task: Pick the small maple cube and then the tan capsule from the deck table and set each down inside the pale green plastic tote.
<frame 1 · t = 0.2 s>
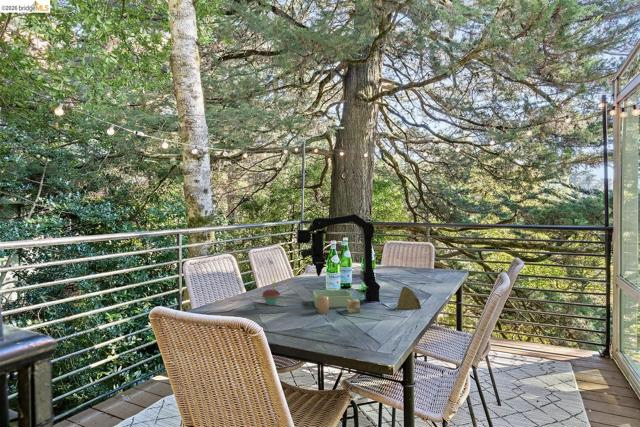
hand: (318, 274, 202), 14 cm above the table, tool pointing down, fingers open, 9 cm apart
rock: (409, 308, 191), on the table
tote: (332, 303, 200), on the table
maple cube: (353, 311, 187), on the table
tan capsule: (323, 312, 186), on the table
cupcake: (271, 304, 201), on the table
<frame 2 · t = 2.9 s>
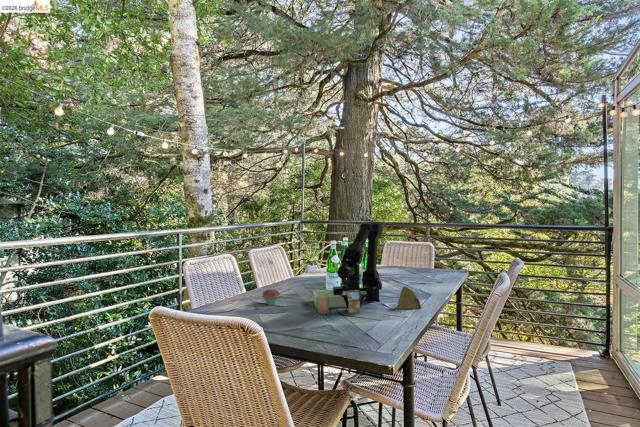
hand: (353, 308, 187), 1 cm above the table, tool pointing down, fingers closed on maple cube, 5 cm apart
maple cube: (353, 310, 187), on the table, touching gripper
everything else where it was.
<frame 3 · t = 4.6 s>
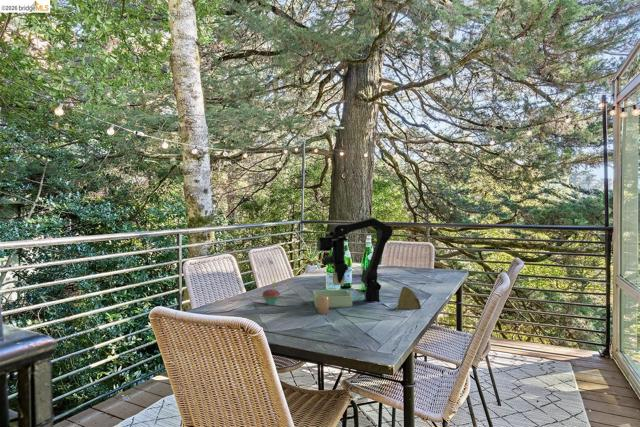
hand: (338, 281, 200), 11 cm above the table, tool pointing down, fingers closed on maple cube, 5 cm apart
maple cube: (338, 283, 200), point 10 cm above the table, touching gripper
everything else where it was.
when the fingers open (3 cm above the table, at t = 6.4 s): maple cube drops 2 cm, resting on tote.
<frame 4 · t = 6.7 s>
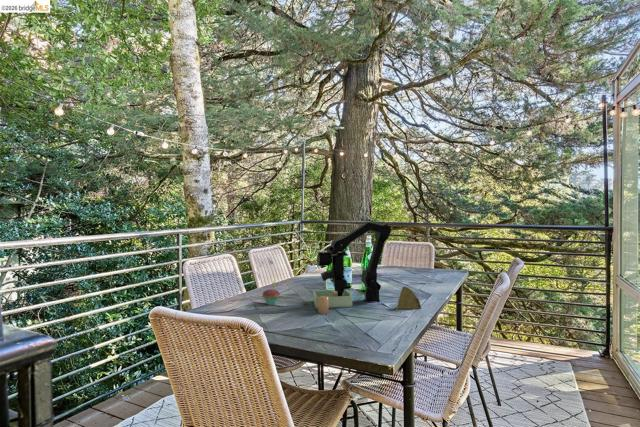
hand: (338, 296, 201), 3 cm above the table, tool pointing down, fingers open, 8 cm apart
maple cube: (338, 302, 201), resting on tote
everything else where it was.
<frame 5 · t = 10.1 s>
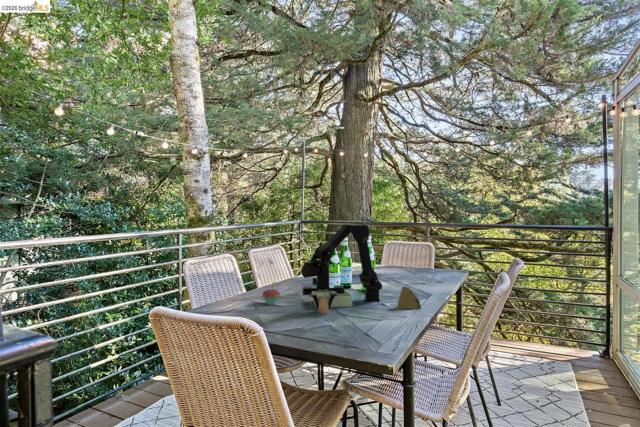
hand: (323, 308, 186), 2 cm above the table, tool pointing down, fingers closed on tan capsule, 5 cm apart
tan capsule: (323, 312, 186), on the table, touching gripper
everything else where it was.
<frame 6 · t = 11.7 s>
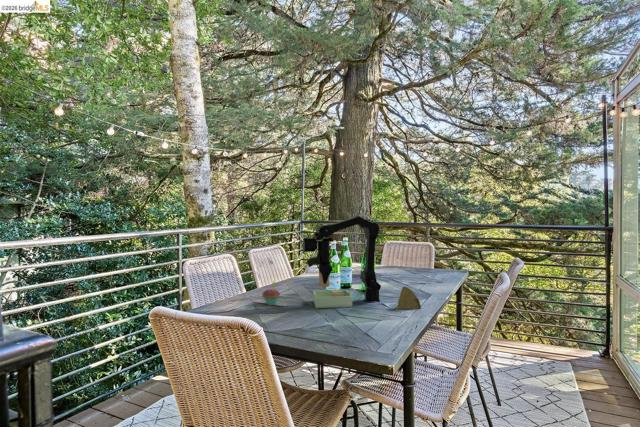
hand: (324, 282, 199), 11 cm above the table, tool pointing down, fingers closed on tan capsule, 5 cm apart
tan capsule: (324, 285, 199), point 9 cm above the table, touching gripper
everything else where it was.
when the fingers open (4 cm above the table, at t = 13.4 s): tan capsule drops 2 cm, resting on tote.
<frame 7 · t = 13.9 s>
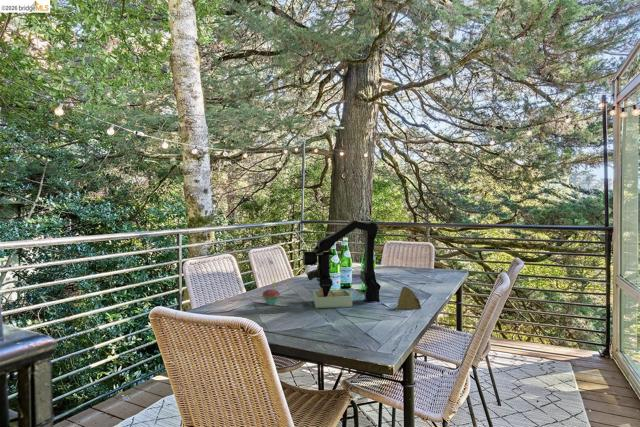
hand: (324, 295, 200), 4 cm above the table, tool pointing down, fingers open, 9 cm apart
tan capsule: (324, 302, 200), point 1 cm above the table, touching tote
everything else where it was.
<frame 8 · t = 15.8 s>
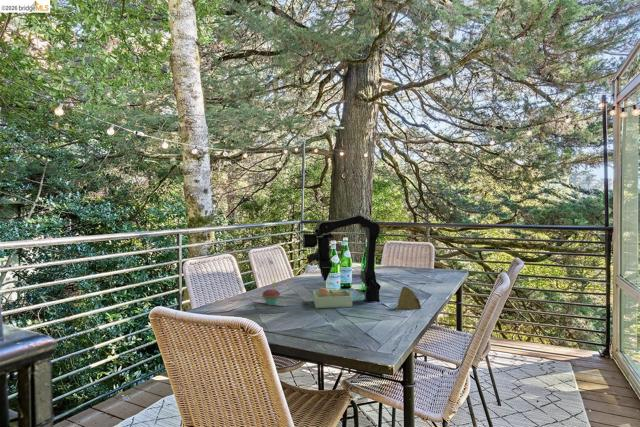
hand: (323, 278, 200), 12 cm above the table, tool pointing down, fingers open, 9 cm apart
nothing on the table moved.
at the end: maple cube inside the target area on the tote (3.0 cm from its centre), point 0.5 cm above the tote's base; tan capsule inside the target area on the tote (4.0 cm from its centre), point 0.5 cm above the tote's base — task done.
